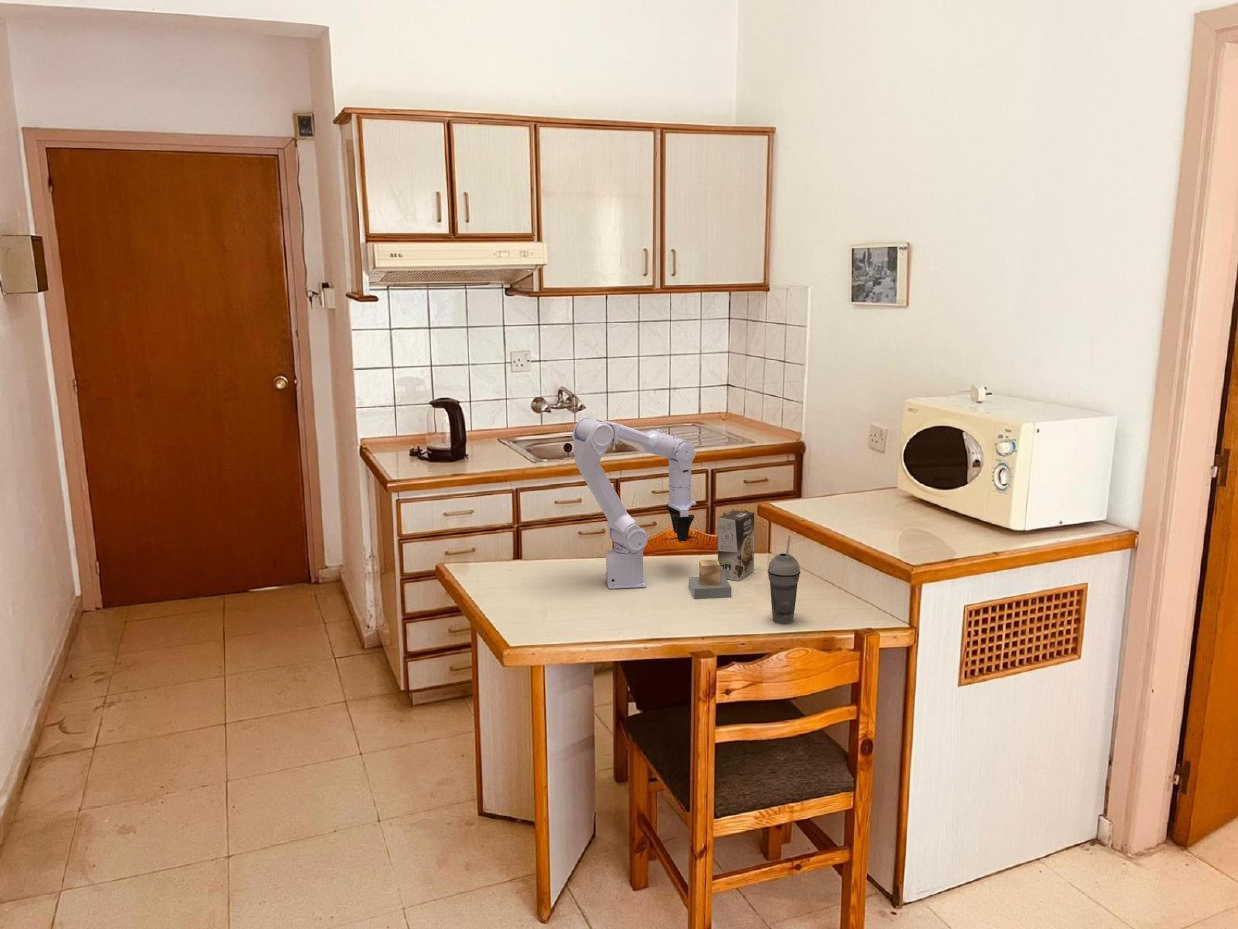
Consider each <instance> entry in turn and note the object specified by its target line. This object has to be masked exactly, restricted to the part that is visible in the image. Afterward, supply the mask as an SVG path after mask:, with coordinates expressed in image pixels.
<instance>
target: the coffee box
mask: <svg viewBox="0 0 1238 929" xmlns="http://www.w3.org/2000/svg"><path fill="white" fill-rule="evenodd" d="M717 524H718V525H717V528H718V529H717V560H718V562H719V564H720V576H725V577H726V579H727V580H729V581H730V580H731V581H735V582H740V581H741V580H743V579H745V578H746V577H747V576H749V575H751V574H753V573H754V572H755V571H754V570H755V568H754V567H755V512H752V511H744V510H734V509H733V510H731V511H728V512H727V513H725V514H723V515H720V516H718V519H717Z"/></svg>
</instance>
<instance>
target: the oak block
mask: <svg viewBox="0 0 1238 929" xmlns="http://www.w3.org/2000/svg"><path fill="white" fill-rule="evenodd" d="M698 562H699V564H698V567H699V571H698V577H699V580H700V582H701V585H720V564H719V562H718V558H717V559H699V561H698Z"/></svg>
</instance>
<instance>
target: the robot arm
mask: <svg viewBox="0 0 1238 929" xmlns="http://www.w3.org/2000/svg"><path fill="white" fill-rule="evenodd" d="M572 431H573V432H572V434H571V437H572V439H573V442H574V443H573V444H574V445H573V446H574V463H575V466H576V468H577V469H578V471H579V473H580V474H581V476H582V478H583V480H584V481H585V483H586V485H587V486H588V487H587V488H589V490H590V492H591V494H592V495H593V497H594V499H595V501H596V503H598V505H599V507H600V509H601V512H602V513H603V515H604V516H605V518H606V519H607V522H606V526H607V528H608V532H609V538H610V540H611V541H612V542H613V549H610V550H609V549H608V550H606V551H605V561H606V564H605V566H606V569H605V570H606V571H605V580H606V583H607V588H608V589H610V590H612V589H614V590H615V589H633V588H647V582H646V580H645V577H644V549H645V547H646V546H647V545H648V540H649V537H648V533H647V532H646V530H645V529H644V528H642V527H640V525H639V524H638V523H637V521H636V520H635V519H634V518H633V517H632V516H631V515H630V514H629V513H628V511H627V510H626V508H625V506H624V504H623V503H622V501H621V499H620V497H619V495H618V493H617V492H616V490H615V489H614V486H613V485H612V483H611V481H610V479H609V477H608V476H607V474H606V472H605V471H604V468H603V467H602V465H601V463H600V461H601V459H602V457H603V456H604V454H605V453H606V452H607V450H608V448H609V447H610V445H611V444H612V443H614V444H615V443H617V442H618V441H619V440H624V441H626V442H627V441H628V442H630V443H634V444H637V445H642V448H643V449H644V451H645V452H646V453H648V454H652V455H654V456H658V457H662V458H665V459H668V502H667V505H666V508H667V511H668V513H669V515H670V520H671V525H672V530H673V533H674V534H676V536H677V540H678V542H687V541H688V537H689V531H690V529H691V525H692V524H693V521H694V519H695V515H694V514H689V510H690V509H691V507H692V506H696V505H697V502H696V500H692V467H693V461H694V459H695V458H696V456H697V450H695V447H694V444H692V442H691V441H690V440H689V441H688V440H685V439H683V438H679V436H678V435H675V434H672V435H671V434H667V433H664V430H661V429H659V428H656V429H655V430H654V429H653V430H648V431H647V432H644V431H641V430H638V429H635V428H632V427H629V426H626V425H624V424H621V423H617V422H614V421H608V420H603V419H593V418H592V417H582V418H580V419H579V420H578V421H577V422H576V423H575V425H574V428H573V430H572Z"/></svg>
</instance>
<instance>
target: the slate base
mask: <svg viewBox="0 0 1238 929" xmlns="http://www.w3.org/2000/svg"><path fill="white" fill-rule="evenodd" d="M688 588H689V590H690V592H691V594H692V597H693V599H694V600H697V599H698V600H701V599H722V598H732V586H731V584H730V582H729V581H728V579H726V577H725V576H720V585H701V582H700V580H699V576H689V577H688Z"/></svg>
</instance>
